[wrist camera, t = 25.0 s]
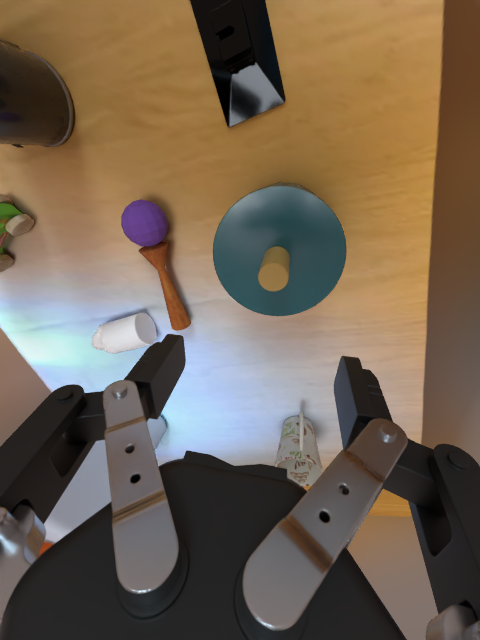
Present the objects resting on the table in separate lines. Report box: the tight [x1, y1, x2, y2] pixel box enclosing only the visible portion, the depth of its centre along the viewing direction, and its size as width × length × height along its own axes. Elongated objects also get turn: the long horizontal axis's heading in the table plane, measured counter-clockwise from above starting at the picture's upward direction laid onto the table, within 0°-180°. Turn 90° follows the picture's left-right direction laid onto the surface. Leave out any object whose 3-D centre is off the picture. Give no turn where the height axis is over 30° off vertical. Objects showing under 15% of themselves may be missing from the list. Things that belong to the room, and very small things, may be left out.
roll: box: [92, 313, 157, 353], centre depth 49 cm, size 6×12×6 cm, turn 112°
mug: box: [275, 412, 323, 486], centre depth 52 cm, size 8×13×10 cm, turn 5°
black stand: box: [190, 0, 285, 127], centre depth 27 cm, size 12×7×5 cm, turn 19°
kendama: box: [121, 200, 191, 330], centre depth 41 cm, size 6×6×20 cm
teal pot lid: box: [213, 186, 346, 316], centre depth 26 cm, size 13×13×6 cm
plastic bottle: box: [38, 416, 166, 557], centre depth 54 cm, size 15×15×28 cm
